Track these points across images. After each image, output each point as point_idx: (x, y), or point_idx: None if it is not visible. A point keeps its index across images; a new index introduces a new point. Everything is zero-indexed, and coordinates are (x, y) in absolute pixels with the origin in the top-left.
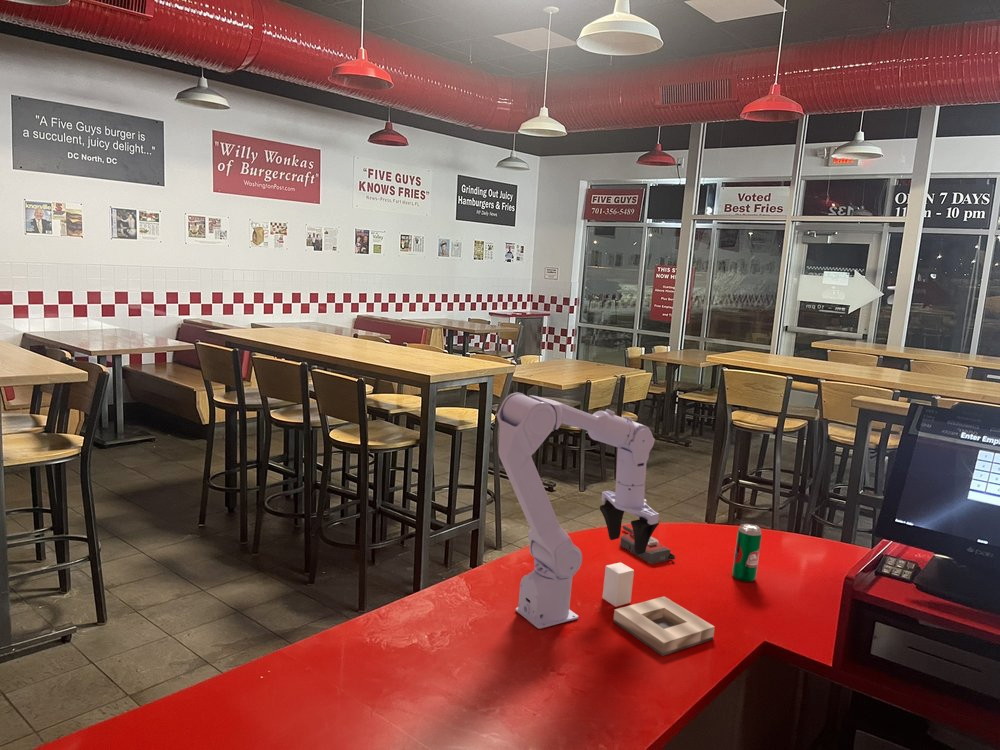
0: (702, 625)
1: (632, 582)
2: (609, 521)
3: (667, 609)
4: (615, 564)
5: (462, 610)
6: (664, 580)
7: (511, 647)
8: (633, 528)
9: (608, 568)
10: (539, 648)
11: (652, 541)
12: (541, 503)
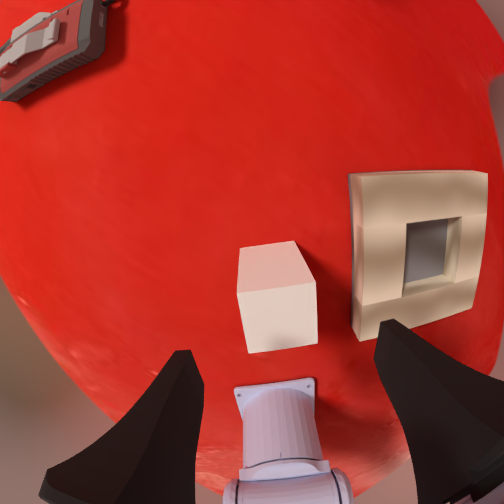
0: (478, 194)
1: (305, 263)
2: (193, 479)
3: (415, 220)
4: (248, 320)
5: (228, 463)
6: (202, 61)
7: (330, 447)
8: (421, 479)
9: (263, 348)
10: (349, 429)
11: (50, 30)
12: None
